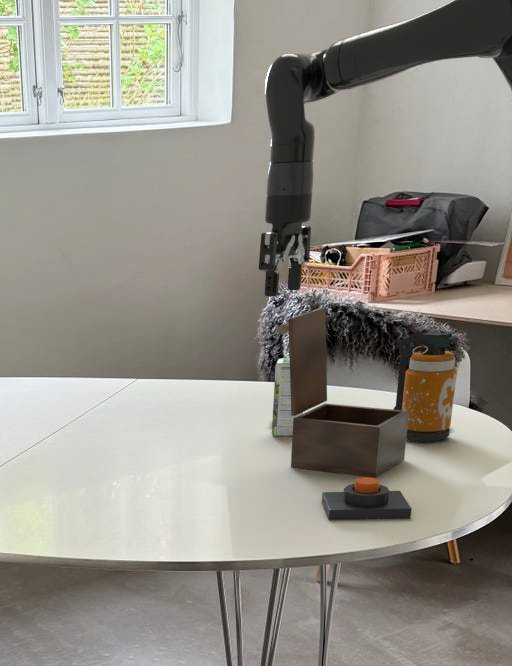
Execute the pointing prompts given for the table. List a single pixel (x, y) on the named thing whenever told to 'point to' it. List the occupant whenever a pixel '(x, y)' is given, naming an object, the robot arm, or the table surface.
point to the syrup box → (282, 400)
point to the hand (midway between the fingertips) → (282, 293)
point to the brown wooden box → (349, 439)
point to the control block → (365, 504)
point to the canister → (427, 385)
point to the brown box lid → (307, 359)
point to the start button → (366, 485)
